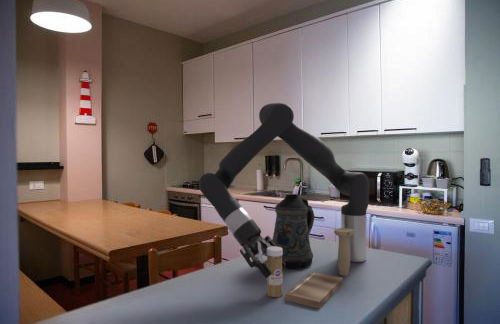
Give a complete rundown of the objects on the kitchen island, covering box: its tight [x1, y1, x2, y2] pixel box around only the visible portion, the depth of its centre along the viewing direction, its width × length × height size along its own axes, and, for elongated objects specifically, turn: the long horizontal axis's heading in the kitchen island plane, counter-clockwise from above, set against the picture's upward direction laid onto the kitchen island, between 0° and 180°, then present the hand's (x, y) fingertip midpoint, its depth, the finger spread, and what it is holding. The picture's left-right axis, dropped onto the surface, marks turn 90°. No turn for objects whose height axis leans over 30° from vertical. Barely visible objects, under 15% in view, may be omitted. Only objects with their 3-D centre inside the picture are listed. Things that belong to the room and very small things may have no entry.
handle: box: [333, 227, 354, 277], centre depth 112 cm, size 5×6×15 cm
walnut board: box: [284, 271, 344, 310], centre depth 99 cm, size 20×10×2 cm, turn 148°
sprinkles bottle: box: [266, 246, 283, 298], centre depth 96 cm, size 5×5×14 cm
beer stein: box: [271, 194, 315, 270], centre depth 127 cm, size 16×19×25 cm
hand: (276, 271), depth 95 cm, fingers open, 8 cm apart
